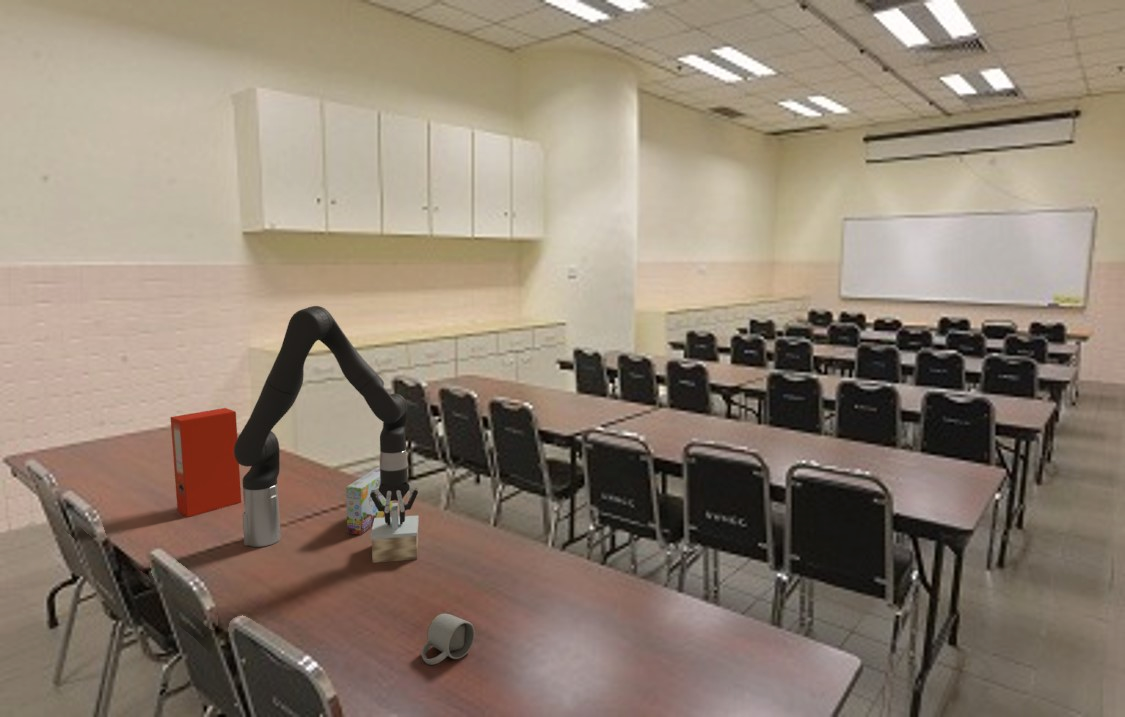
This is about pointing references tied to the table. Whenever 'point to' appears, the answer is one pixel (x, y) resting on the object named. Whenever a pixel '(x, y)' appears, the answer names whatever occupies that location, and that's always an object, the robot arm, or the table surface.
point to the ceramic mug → (448, 638)
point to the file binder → (205, 461)
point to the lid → (394, 526)
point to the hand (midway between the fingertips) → (395, 523)
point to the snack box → (363, 503)
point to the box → (394, 549)
